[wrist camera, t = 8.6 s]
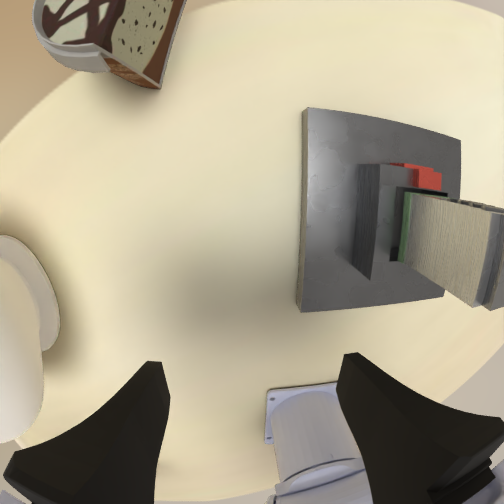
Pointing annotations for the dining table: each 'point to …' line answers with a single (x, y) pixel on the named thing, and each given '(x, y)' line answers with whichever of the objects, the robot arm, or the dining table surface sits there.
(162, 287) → the dining table surface
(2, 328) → the decorative vase
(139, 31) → the food container
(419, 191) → the base
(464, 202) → the block
